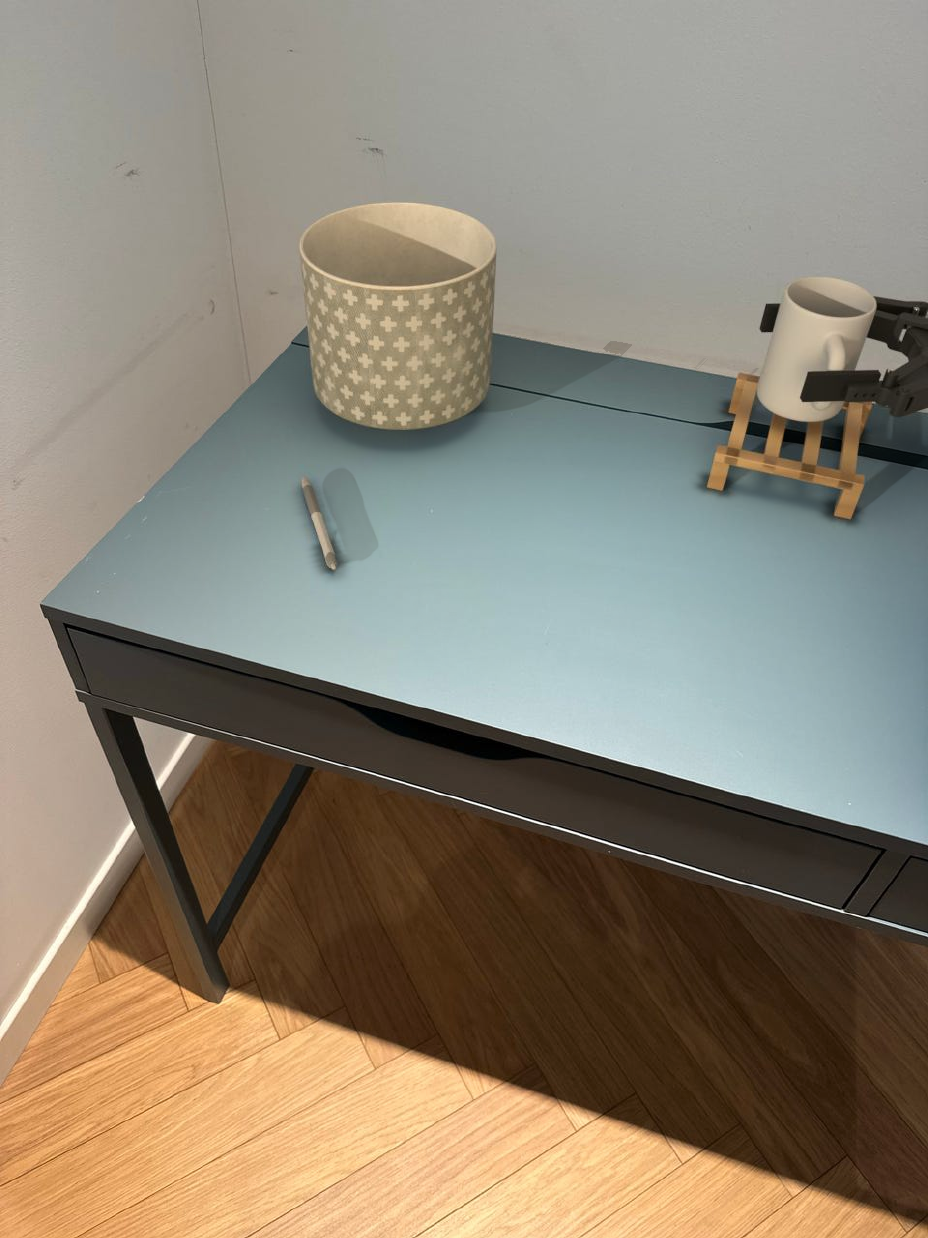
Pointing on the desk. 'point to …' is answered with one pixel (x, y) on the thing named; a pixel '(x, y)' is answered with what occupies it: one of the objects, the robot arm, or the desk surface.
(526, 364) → the desk surface
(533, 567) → the desk surface
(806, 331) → the mug
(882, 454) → the desk surface
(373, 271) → the planter
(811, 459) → the rack
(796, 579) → the desk surface
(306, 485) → the pen
